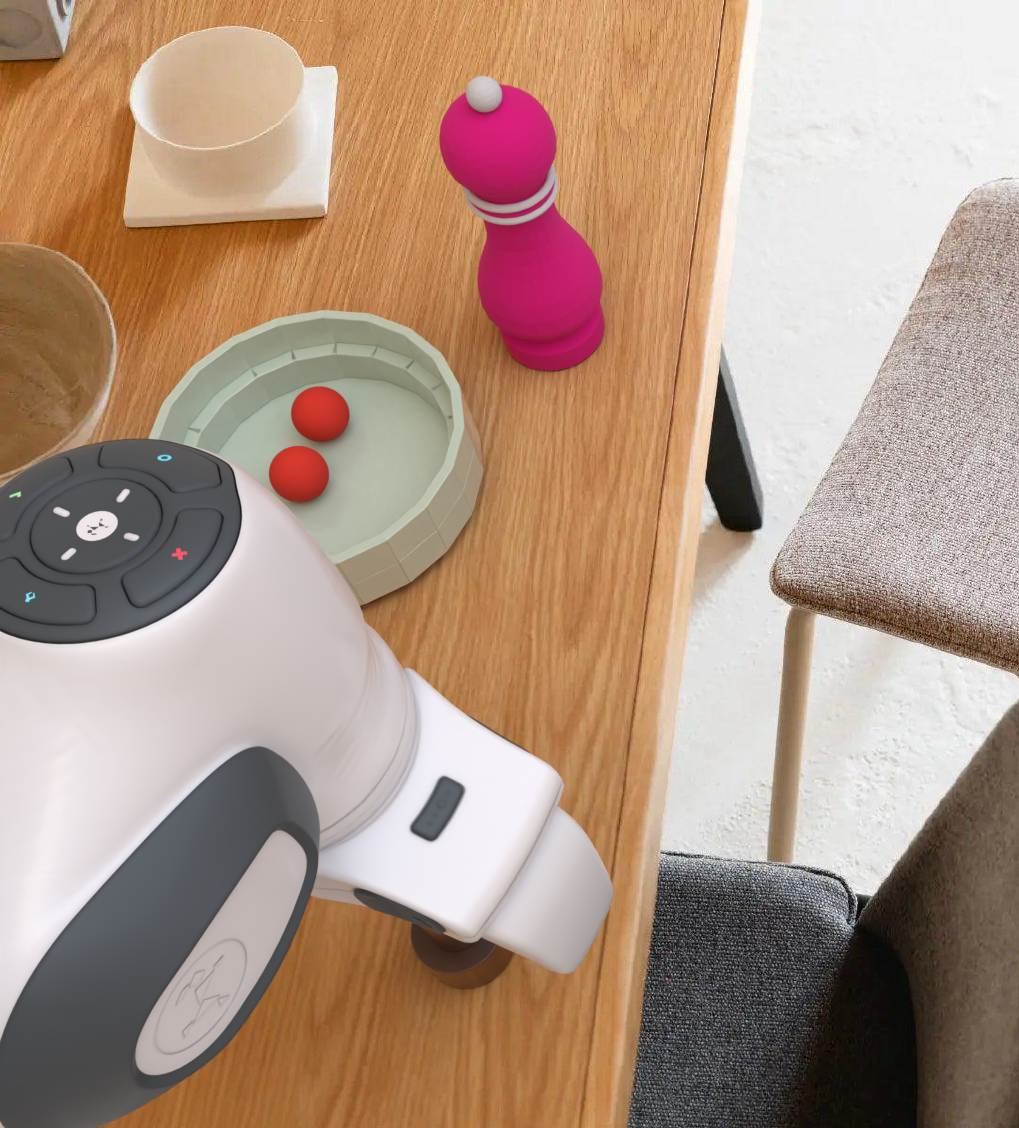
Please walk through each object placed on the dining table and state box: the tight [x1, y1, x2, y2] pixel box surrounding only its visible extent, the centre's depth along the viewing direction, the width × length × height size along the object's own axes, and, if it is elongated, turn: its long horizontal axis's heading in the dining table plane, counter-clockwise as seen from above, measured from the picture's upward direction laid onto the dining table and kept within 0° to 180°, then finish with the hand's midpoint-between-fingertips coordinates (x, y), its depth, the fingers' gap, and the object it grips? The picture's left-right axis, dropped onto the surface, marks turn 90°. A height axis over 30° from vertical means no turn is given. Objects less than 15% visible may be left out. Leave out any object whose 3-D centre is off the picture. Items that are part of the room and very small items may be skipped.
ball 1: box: [291, 386, 350, 442], centre depth 87 cm, size 3×3×3 cm
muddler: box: [410, 923, 515, 990], centre depth 67 cm, size 4×4×16 cm
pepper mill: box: [438, 75, 606, 372], centre depth 84 cm, size 7×7×20 cm
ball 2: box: [269, 446, 329, 503], centre depth 85 cm, size 3×3×3 cm
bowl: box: [147, 309, 485, 607], centre depth 85 cm, size 17×17×6 cm
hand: (411, 876), depth 64 cm, fingers closed on muddler, 2 cm apart
